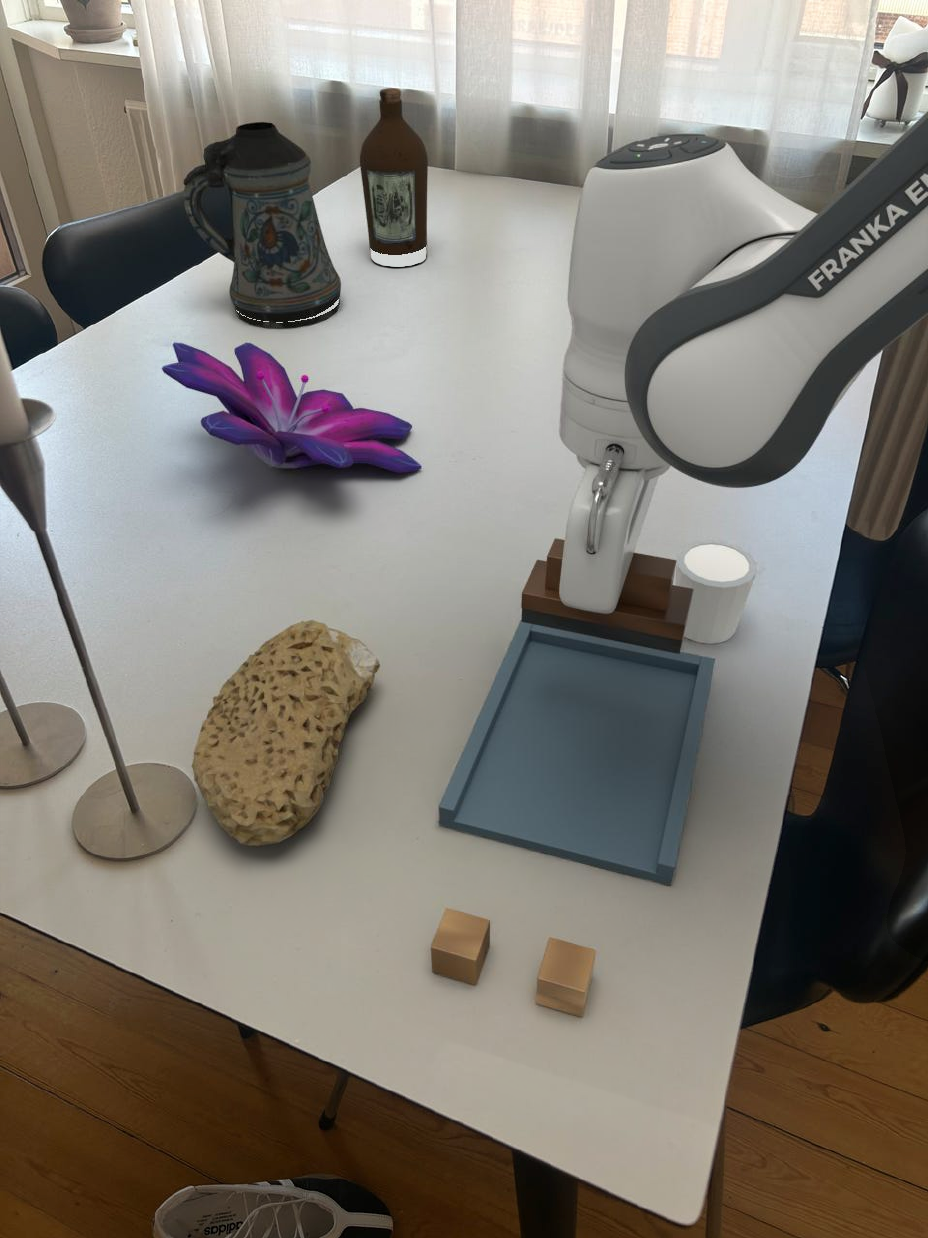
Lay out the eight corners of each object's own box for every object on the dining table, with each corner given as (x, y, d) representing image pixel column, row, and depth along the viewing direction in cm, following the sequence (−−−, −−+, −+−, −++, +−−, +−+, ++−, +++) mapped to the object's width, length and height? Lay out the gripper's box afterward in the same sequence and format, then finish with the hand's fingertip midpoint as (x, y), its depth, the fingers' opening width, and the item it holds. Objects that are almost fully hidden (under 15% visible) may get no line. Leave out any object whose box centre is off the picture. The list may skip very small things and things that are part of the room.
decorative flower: (333, 417, 130) (358, 348, 125) (441, 547, 111) (476, 472, 106) (101, 377, 110) (121, 294, 106) (184, 526, 91) (213, 433, 87)
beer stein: (365, 307, 145) (350, 125, 129) (254, 346, 135) (224, 153, 119) (301, 278, 154) (280, 104, 138) (194, 312, 144) (158, 129, 128)
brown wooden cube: (490, 919, 61) (476, 961, 59) (490, 945, 63) (476, 986, 61) (445, 907, 62) (430, 947, 60) (446, 933, 64) (431, 972, 62)
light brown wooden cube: (592, 975, 62) (596, 949, 60) (582, 1018, 59) (585, 993, 57) (547, 962, 62) (549, 936, 60) (535, 1003, 60) (537, 978, 58)
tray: (711, 677, 83) (715, 658, 81) (671, 886, 67) (675, 867, 65) (520, 637, 87) (520, 619, 85) (438, 825, 71) (438, 806, 69)
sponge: (282, 667, 86) (122, 791, 70) (296, 595, 82) (129, 710, 66) (409, 736, 83) (271, 882, 67) (430, 664, 78) (288, 803, 62)
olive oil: (371, 246, 165) (360, 82, 149) (433, 247, 164) (428, 82, 148) (362, 269, 157) (349, 98, 141) (427, 270, 156) (421, 98, 140)
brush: (687, 619, 73) (700, 555, 69) (679, 656, 70) (691, 591, 66) (535, 589, 76) (538, 526, 72) (520, 623, 73) (522, 560, 69)
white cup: (712, 659, 84) (725, 596, 80) (651, 622, 88) (660, 560, 84) (758, 624, 88) (773, 562, 83) (697, 590, 92) (708, 529, 87)
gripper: (650, 505, 54) (625, 685, 62) (699, 353, 68) (673, 516, 77) (540, 487, 55) (531, 665, 64) (611, 342, 70) (596, 503, 79)
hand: (609, 582), depth 71 cm, fingers closed on brush, 2 cm apart
